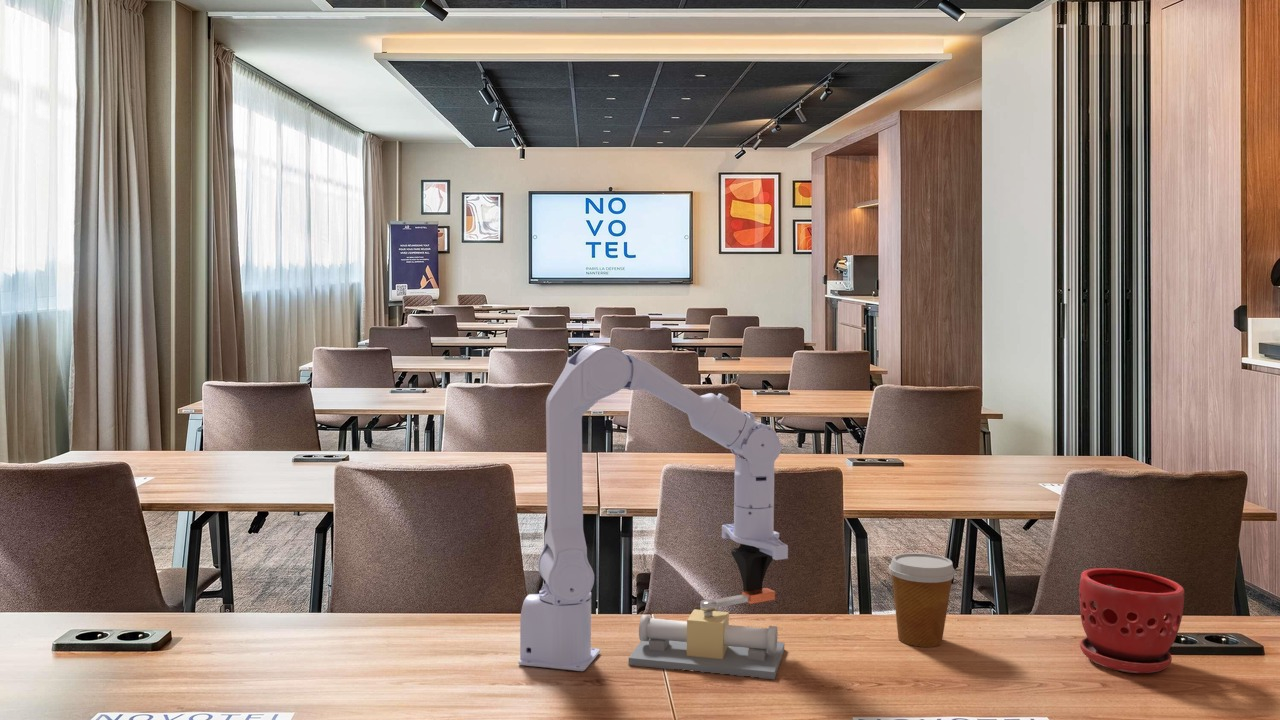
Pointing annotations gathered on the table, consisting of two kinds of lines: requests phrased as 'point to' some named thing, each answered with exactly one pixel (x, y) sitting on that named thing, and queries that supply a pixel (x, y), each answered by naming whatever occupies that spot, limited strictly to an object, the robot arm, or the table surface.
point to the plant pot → (1129, 619)
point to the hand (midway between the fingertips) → (752, 597)
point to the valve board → (708, 664)
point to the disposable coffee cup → (921, 596)
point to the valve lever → (739, 599)
